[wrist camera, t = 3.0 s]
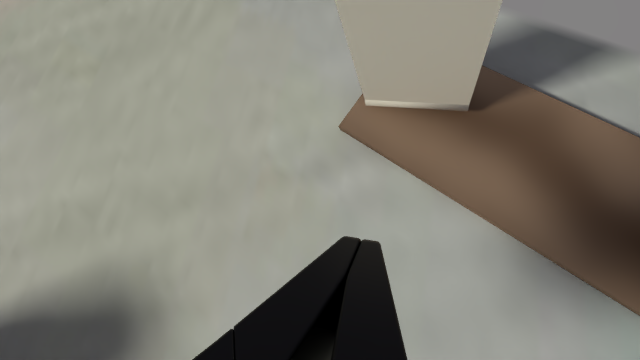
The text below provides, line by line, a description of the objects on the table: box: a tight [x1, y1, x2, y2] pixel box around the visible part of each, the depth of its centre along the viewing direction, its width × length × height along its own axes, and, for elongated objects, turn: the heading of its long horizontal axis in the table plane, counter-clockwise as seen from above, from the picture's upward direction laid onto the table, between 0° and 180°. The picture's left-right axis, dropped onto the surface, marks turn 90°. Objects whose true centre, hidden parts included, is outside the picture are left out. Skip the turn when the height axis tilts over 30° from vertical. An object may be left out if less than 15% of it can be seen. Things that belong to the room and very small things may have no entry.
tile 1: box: [335, 0, 503, 111], centre depth 17 cm, size 2×6×11 cm, turn 80°
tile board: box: [339, 66, 640, 316], centre depth 20 cm, size 8×23×1 cm, turn 53°
